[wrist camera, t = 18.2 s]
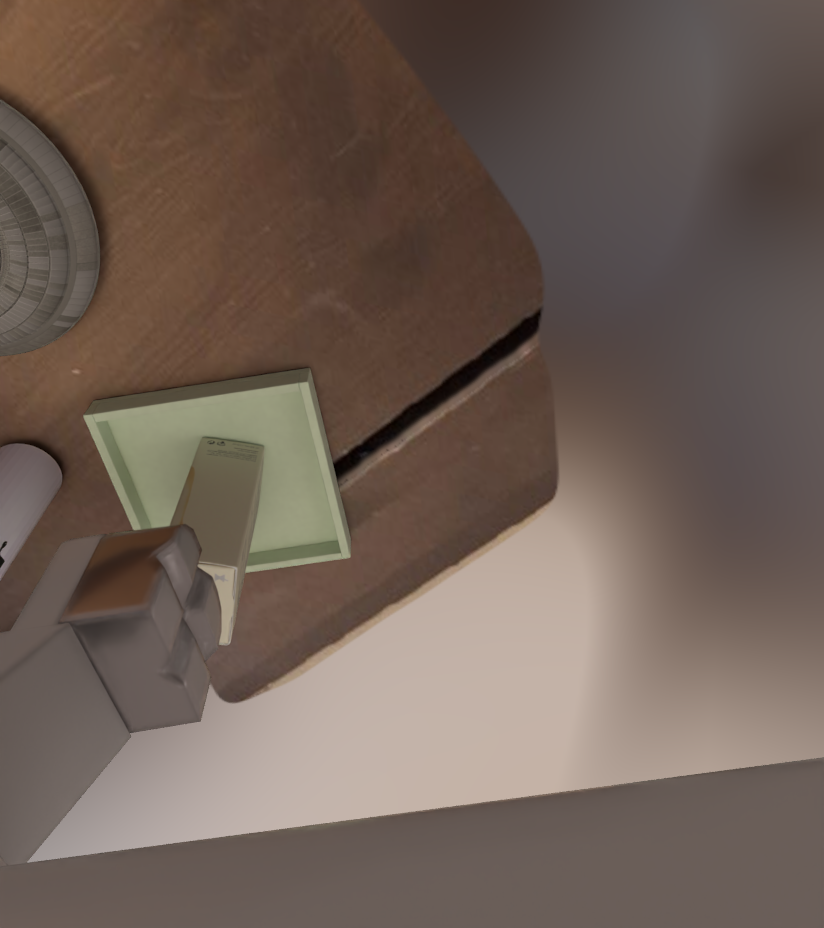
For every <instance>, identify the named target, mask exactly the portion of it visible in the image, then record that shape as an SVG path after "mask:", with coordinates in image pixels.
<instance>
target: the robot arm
mask: <svg viewBox="0 0 824 928" xmlns="http://www.w3.org/2000/svg"><path fill="white" fill-rule="evenodd" d="M201 552H202V548H201V546H200V543H199V541H198V538H197V536H196V534H195V531H194V529H193V528H191V527H190V526H188V525H187V524H180V525H172V526H164V527H156V528H148V529H140V530H132V531H124V532H116V533H109V534H100V535H93V536H86V537H80V538H73V539H70V540H67V541H65V542H63V543H61V545H60V546H59V548H58V550H57V551H56V553H55V555H54V556H53V558H52V560H51V562H50V563H49V565H48V567H47V568H46V570H45V572H44V574H43V575H42V577H41V579H40V580H39V582H38V584H37V586H36V587H35V589H34V591H33V592H32V594H31V596H30V598H29V599H28V601H27V603H26V604H25V606H24V608H23V610H22V611H21V613H20V615H19V616H18V618H17V620H16V622H15V623H14V625H13V627H12V628H11V630H10V631H6V632H0V928H824V758H816V759H809V760H801V761H793V762H785V763H778V764H770V765H763V766H755V767H749V768H740V769H733V770H725V771H718V772H710V773H702V774H695V775H687V776H680V777H673V778H664V779H657V780H649V781H642V782H634V783H627V784H619V785H612V786H604V787H596V788H589V789H581V790H574V791H566V792H559V793H551V794H544V795H536V796H529V797H521V798H514V799H506V800H498V801H491V802H483V803H477V804H469V805H461V806H453V807H445V808H438V809H430V810H423V811H416V812H408V813H400V814H392V815H386V816H378V817H370V818H362V819H355V820H347V821H340V822H333V823H325V824H317V825H309V826H302V827H294V828H287V829H279V830H272V831H265V832H257V833H249V834H241V835H234V836H226V837H219V838H212V839H204V840H197V841H189V842H181V843H173V844H166V845H158V846H151V847H144V848H136V849H129V850H121V851H113V852H105V853H98V854H91V855H83V856H76V857H68V858H60V859H54V860H45V861H38V862H30V863H27V861H28V860H29V859H30V858H31V857H32V855H33V854H34V853H35V852H36V851H37V849H38V848H39V847H40V846H41V845H42V843H43V842H44V841H45V840H46V839H47V837H48V836H49V835H50V834H51V832H52V831H53V830H54V829H55V827H56V826H57V825H58V824H59V823H60V822H61V820H62V819H63V818H64V817H65V816H66V814H67V813H68V812H69V811H70V810H71V808H72V807H73V806H74V805H75V804H76V802H77V801H78V800H79V799H80V798H81V796H82V795H83V794H84V793H85V792H86V790H87V789H88V788H89V787H90V786H91V784H92V783H93V782H94V781H95V780H96V778H97V777H98V776H99V775H100V773H101V772H102V771H103V770H104V769H105V767H106V766H107V765H108V764H109V763H110V762H111V760H112V759H113V758H114V757H115V755H116V754H117V753H118V752H119V751H120V750H121V748H122V747H123V746H124V745H125V743H126V742H127V741H128V740H129V739H130V738H131V735H130V733H133V732H139V731H145V730H151V729H158V728H164V727H170V726H176V725H181V724H187V723H194V722H200V721H201V718H202V713H203V709H204V705H205V701H206V697H207V693H208V689H209V685H210V680H211V675H210V672H209V670H208V668H207V665H206V663H205V661H206V660H207V659H208V658H209V657H210V656H211V655H212V654H213V653H214V652H215V651H216V650H217V649H218V646H219V641H220V637H221V632H222V609H221V604H220V599H219V594H218V590H217V587H216V585H215V582H214V579H213V577H212V576H211V575H209V574H208V573H207V572H205V571H204V570H202V569H201V568H199V567H198V563H199V559H200V556H201Z"/></svg>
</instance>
